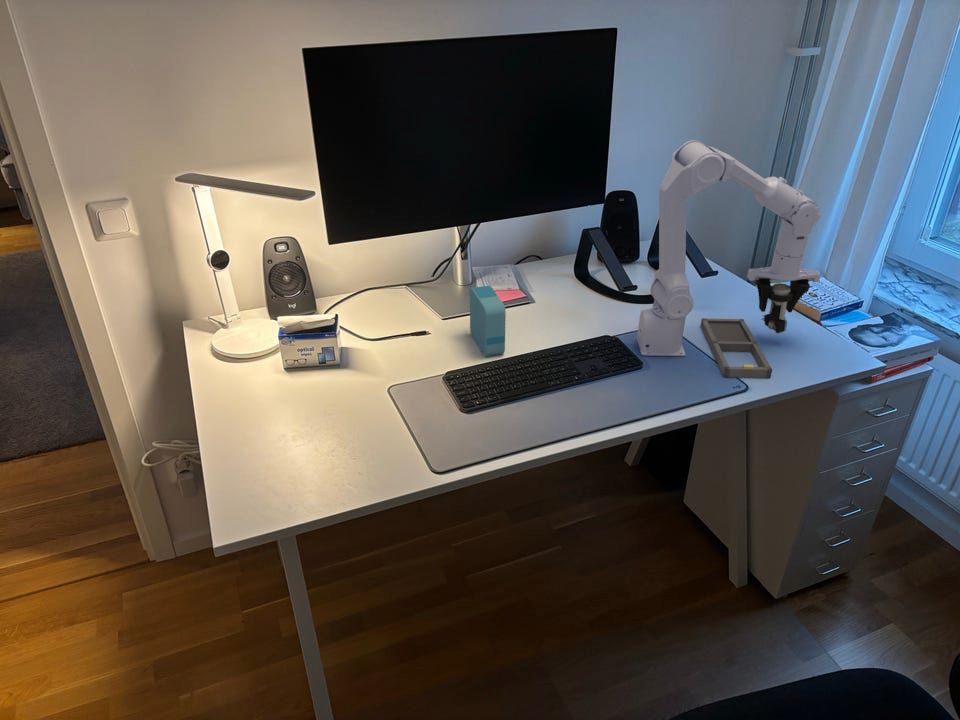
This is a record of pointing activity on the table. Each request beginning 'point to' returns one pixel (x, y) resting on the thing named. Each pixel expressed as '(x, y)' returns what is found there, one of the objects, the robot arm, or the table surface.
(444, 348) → the table surface
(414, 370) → the table surface
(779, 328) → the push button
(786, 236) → the robot arm
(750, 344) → the shallow brown tray
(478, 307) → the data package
